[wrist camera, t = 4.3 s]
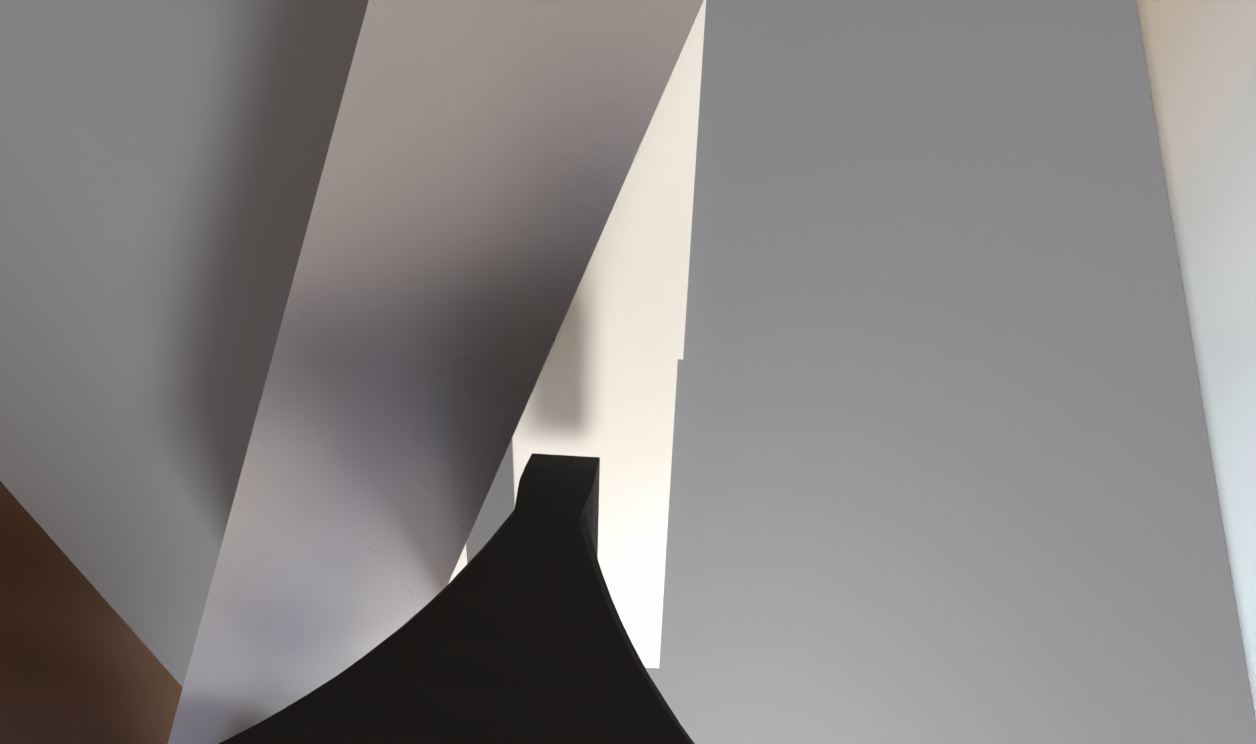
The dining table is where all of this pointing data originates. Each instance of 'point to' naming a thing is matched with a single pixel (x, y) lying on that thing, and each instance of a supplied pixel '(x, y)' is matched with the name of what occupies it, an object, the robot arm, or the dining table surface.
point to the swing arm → (418, 324)
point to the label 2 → (603, 472)
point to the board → (697, 354)
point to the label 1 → (646, 235)
